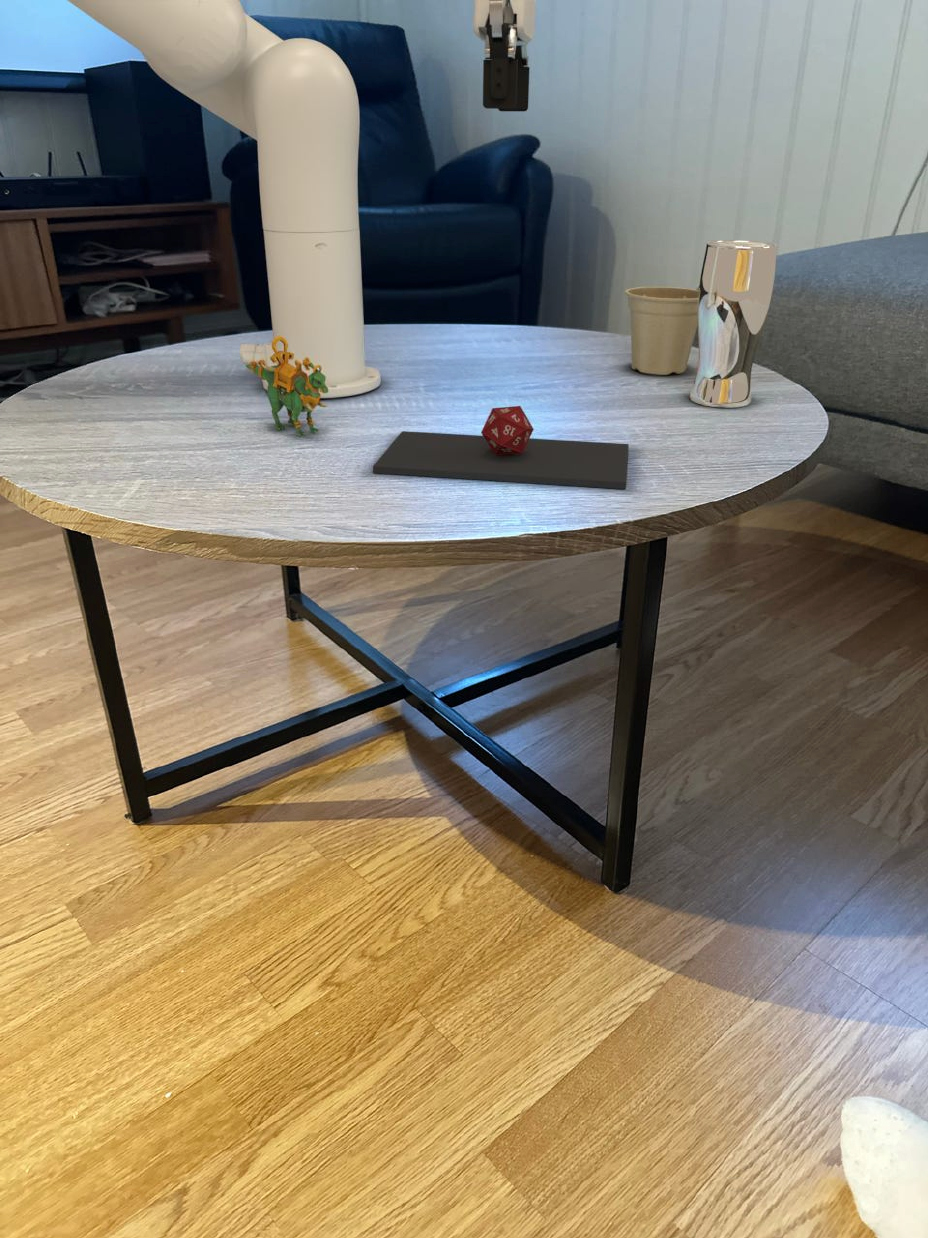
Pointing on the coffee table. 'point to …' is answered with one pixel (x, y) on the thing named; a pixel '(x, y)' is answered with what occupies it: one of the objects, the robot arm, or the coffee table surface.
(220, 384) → the coffee table surface
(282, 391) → the figurine
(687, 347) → the flower pot
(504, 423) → the dice
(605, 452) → the mat
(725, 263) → the beer glass
